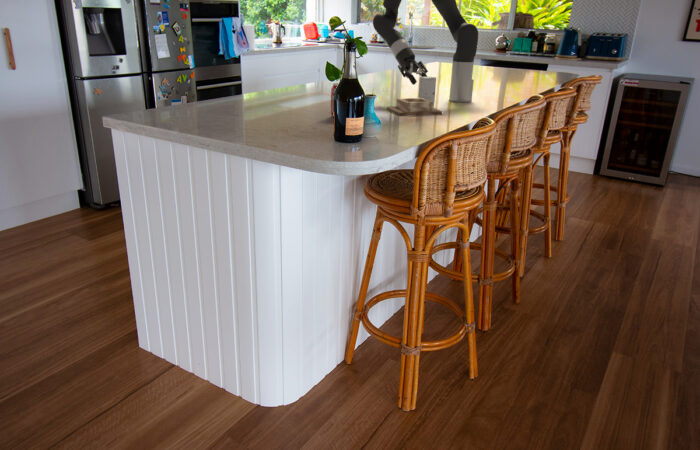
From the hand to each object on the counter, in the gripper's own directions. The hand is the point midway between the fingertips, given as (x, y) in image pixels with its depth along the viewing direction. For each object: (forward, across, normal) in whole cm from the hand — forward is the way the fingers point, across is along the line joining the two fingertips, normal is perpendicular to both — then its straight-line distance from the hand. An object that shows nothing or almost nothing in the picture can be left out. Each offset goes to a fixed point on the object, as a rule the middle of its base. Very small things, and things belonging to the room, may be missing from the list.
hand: (421, 82), depth 232 cm
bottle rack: (+13, -16, 0) cm, 21 cm away
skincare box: (+9, 0, +4) cm, 10 cm away
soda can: (+6, -46, +8) cm, 47 cm away
